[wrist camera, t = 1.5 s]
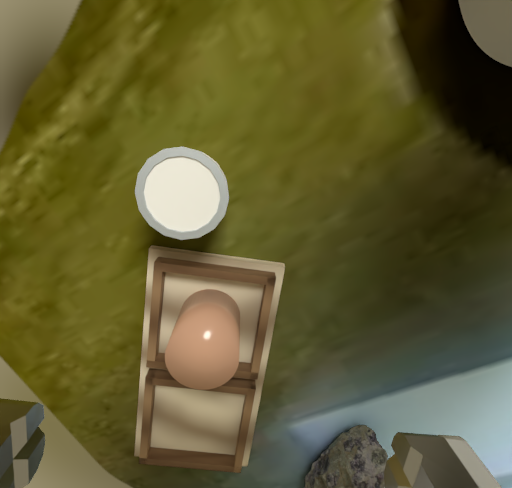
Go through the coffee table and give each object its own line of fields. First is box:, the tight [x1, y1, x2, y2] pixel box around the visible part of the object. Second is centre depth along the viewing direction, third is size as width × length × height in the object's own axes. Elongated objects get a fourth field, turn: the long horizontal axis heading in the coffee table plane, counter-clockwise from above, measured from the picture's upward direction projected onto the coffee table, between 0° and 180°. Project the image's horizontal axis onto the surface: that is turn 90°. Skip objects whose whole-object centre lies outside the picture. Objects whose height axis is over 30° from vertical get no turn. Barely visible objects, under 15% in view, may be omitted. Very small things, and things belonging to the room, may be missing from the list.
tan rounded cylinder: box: [165, 289, 240, 390], centre depth 32 cm, size 6×6×7 cm
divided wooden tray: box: [134, 245, 285, 473], centre depth 37 cm, size 25×13×2 cm, turn 171°
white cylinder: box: [135, 147, 229, 240], centre depth 29 cm, size 7×7×7 cm
